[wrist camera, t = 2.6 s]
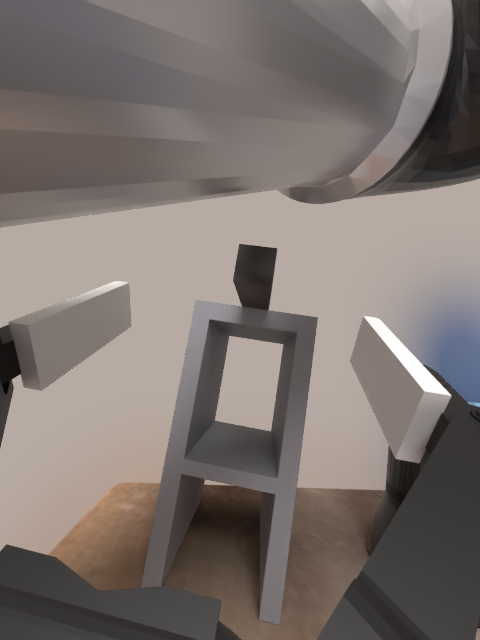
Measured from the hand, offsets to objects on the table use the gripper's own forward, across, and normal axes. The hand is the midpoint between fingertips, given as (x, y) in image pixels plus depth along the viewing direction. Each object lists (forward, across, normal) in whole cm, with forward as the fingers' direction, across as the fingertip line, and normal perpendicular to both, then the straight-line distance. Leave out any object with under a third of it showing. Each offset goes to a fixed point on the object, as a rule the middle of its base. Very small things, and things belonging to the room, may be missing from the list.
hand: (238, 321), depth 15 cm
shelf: (+8, 0, -35) cm, 36 cm away
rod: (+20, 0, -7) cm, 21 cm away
